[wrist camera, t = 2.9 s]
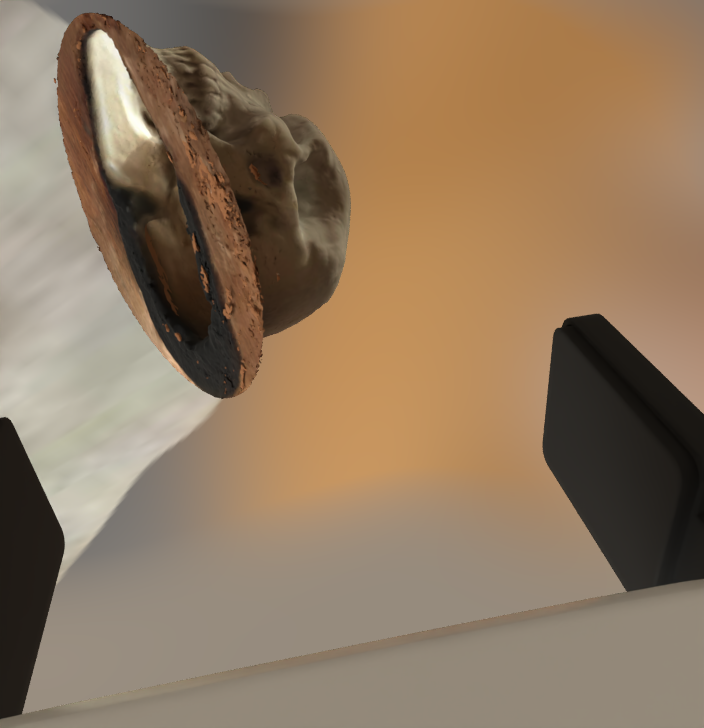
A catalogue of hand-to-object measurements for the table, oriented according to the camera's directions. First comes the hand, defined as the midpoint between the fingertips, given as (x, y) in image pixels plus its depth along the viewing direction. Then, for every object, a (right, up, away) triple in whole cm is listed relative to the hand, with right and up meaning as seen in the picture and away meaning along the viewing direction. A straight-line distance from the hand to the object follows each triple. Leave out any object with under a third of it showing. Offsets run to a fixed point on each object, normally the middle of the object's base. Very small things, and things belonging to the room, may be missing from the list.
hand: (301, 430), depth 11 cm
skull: (-5, +3, +5) cm, 8 cm away
